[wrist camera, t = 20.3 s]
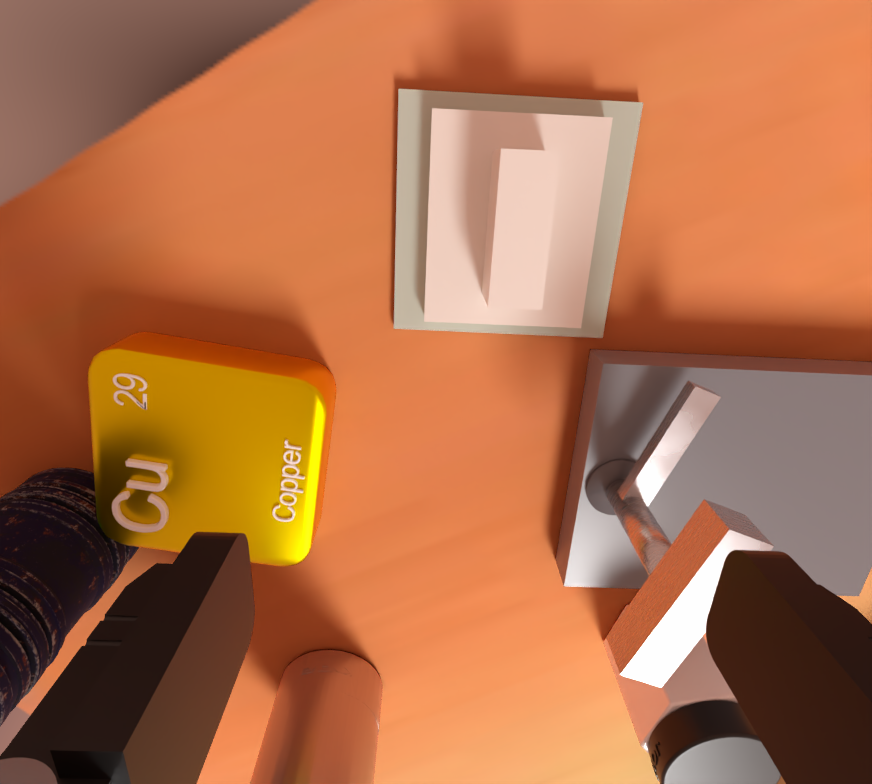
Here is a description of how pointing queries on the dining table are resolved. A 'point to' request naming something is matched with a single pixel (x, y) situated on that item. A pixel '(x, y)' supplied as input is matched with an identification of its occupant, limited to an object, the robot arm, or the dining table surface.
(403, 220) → the mat
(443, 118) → the cover
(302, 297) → the dining table surface
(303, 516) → the element tile
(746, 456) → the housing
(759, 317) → the dining table surface
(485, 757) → the dining table surface
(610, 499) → the t key
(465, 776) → the dining table surface
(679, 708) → the jar
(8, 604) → the storage jar
